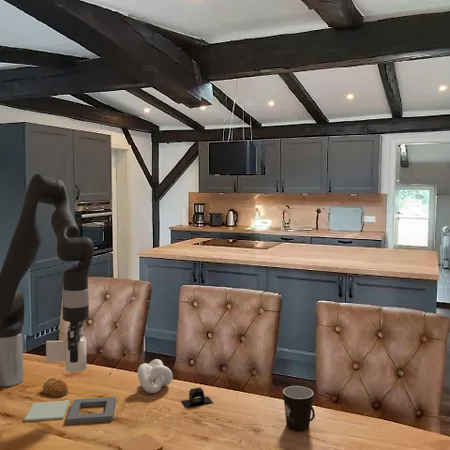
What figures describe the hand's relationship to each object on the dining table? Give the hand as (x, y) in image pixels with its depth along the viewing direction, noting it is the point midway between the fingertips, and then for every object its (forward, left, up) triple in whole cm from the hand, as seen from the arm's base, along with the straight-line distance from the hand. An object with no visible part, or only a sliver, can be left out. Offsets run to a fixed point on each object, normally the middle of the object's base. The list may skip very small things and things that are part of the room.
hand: (75, 357), depth 142 cm
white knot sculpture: (+23, +13, -17) cm, 31 cm away
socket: (+5, -1, -17) cm, 17 cm away
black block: (+37, +1, -18) cm, 41 cm away
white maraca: (-3, 0, -3) cm, 4 cm away
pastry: (-9, +16, -17) cm, 26 cm away
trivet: (-9, +1, -17) cm, 19 cm away
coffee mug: (+64, -20, -17) cm, 69 cm away
